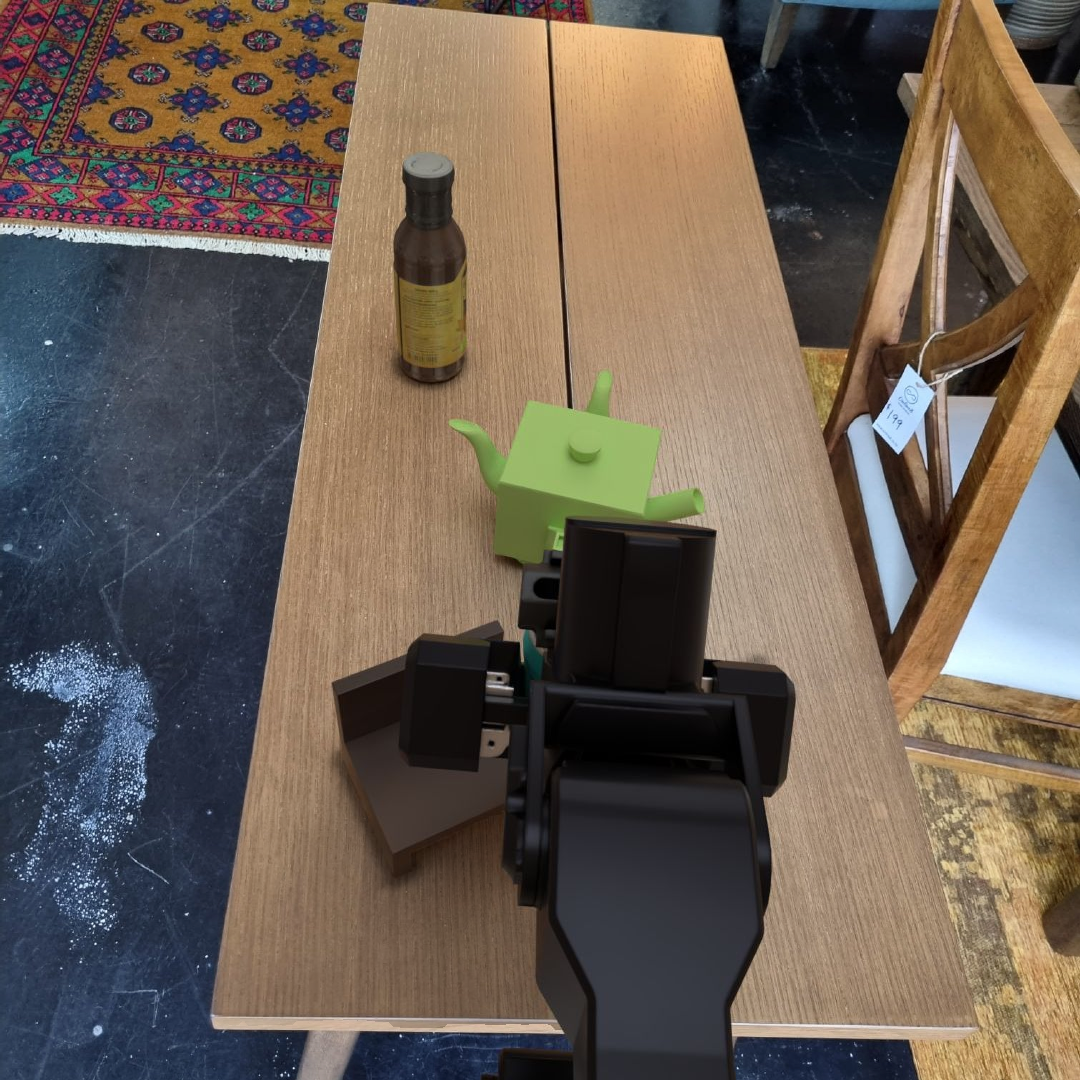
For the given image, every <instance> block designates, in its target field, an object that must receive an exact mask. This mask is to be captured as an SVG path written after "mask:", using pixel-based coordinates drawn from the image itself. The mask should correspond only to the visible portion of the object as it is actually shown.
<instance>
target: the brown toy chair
mask: <svg viewBox="0 0 1080 1080" xmlns="http://www.w3.org/2000/svg"><path fill="white" fill-rule="evenodd" d="M454 636H461V637H472V638H482V639H493V640H504V639H505V630H504V628H503V626H502V624H501V623H500V622H499V620H498V619H494V620H493V621H489V622H488V623H484V624H482V625H480V626H477V627H473V628H472V629H471V628H470V629H469V630H466V631H463V632H461V633H458V634H456V635H454ZM504 641H505V640H504ZM406 657H407V653H406V654H403V655H400V656H397V657H395V658H392V659H390V660H387V661H383V662H382V663H379V664H376V665H373V666H371V667H368V668H366V669H363V670H360V671H358V672H354V673H352V674H350V675H346V676H344V677H341V678H339V679H336V680H334V681H332V682H331V688H332V689H331V690H332V695H333V701H334V708H335V715H336V721H337V728H338V734H339V742H340V746H341V747H340V748H341V753H342V760H343V762H344V765H345V767H346V770H347V772H348V774H349V776H350V779H351V781H352V784H353V786H354V788H355V791H356V793H357V795H358V798H359V800H360V802H361V805H362V807H363V809H364V811H365V815H366V816H367V819H368V821H369V823H370V826H371V828H372V830H373V833H374V835H375V838H376V839H377V842H378V844H379V847H380V849H381V851H382V853H383V856H384V858H385V861H386V863H387V865H388V868H389V869H390V872H391V875H392V877H393V878H394V879H397V878H399V877H401V876H403V875H406V874H408V873H410V872H412V870H413V869H412V868H413V867H412V866H413V865H412V854H413V853H415V852H417V851H419V850H422V849H423V848H424V849H425V848H426V847H429V846H431V845H433V844H435V843H437V842H439V841H442V840H444V839H446V838H448V837H450V836H453V835H455V834H457V833H460V832H461V831H464V830H466V829H468V828H470V827H473V826H475V825H477V824H479V823H482V822H483V821H485V820H487V819H490V818H493V817H494V816H495V817H496V815H500V814H501V813H503V812H504V811H505V796H506V780H507V764H508V759H503V758H487V757H480V759H479V769H478V772H468V771H456V770H444V769H433V768H421V767H410V766H408V764H407V763H406V762H405V760H404V759H403V758H402V756H401V755H400V754H399V746H398V744H399V732H400V720H401V709H402V697H403V685H404V674H405V663H406Z"/></svg>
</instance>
